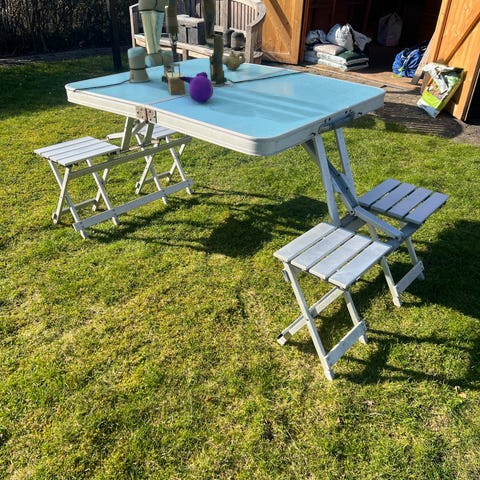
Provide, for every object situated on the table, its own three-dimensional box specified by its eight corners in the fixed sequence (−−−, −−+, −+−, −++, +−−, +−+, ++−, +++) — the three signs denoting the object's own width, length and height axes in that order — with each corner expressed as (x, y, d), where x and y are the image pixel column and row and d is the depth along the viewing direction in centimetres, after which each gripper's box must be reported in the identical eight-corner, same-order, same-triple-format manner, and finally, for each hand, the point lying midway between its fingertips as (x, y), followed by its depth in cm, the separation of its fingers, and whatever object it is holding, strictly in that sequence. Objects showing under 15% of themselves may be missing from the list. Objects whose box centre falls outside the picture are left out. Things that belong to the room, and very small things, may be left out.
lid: (183, 77, 293) (182, 63, 289) (169, 78, 291) (168, 64, 287) (180, 73, 307) (179, 59, 303) (166, 74, 305) (165, 60, 301)
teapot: (225, 72, 363) (224, 52, 355) (218, 70, 371) (218, 50, 364) (248, 69, 372) (247, 50, 364) (241, 67, 381) (240, 48, 373)
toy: (201, 94, 296) (213, 108, 275) (175, 89, 289) (185, 104, 268) (206, 69, 288) (219, 82, 267) (180, 64, 281) (191, 77, 260)
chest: (185, 94, 299) (183, 77, 293) (171, 95, 297) (169, 78, 292) (181, 89, 312) (180, 73, 307) (168, 90, 311) (166, 74, 305)
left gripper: (186, 79, 328) (191, 85, 309) (156, 81, 324) (159, 88, 305) (185, 69, 324) (190, 74, 306) (155, 70, 320) (158, 76, 301)
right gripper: (179, 25, 273) (181, 54, 281) (176, 23, 285) (178, 51, 293) (167, 26, 272) (169, 54, 280) (164, 24, 284) (167, 51, 292)
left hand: (174, 81), depth 305 cm, fingers closed on chest, 9 cm apart
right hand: (174, 52), depth 287 cm, fingers open, 8 cm apart
